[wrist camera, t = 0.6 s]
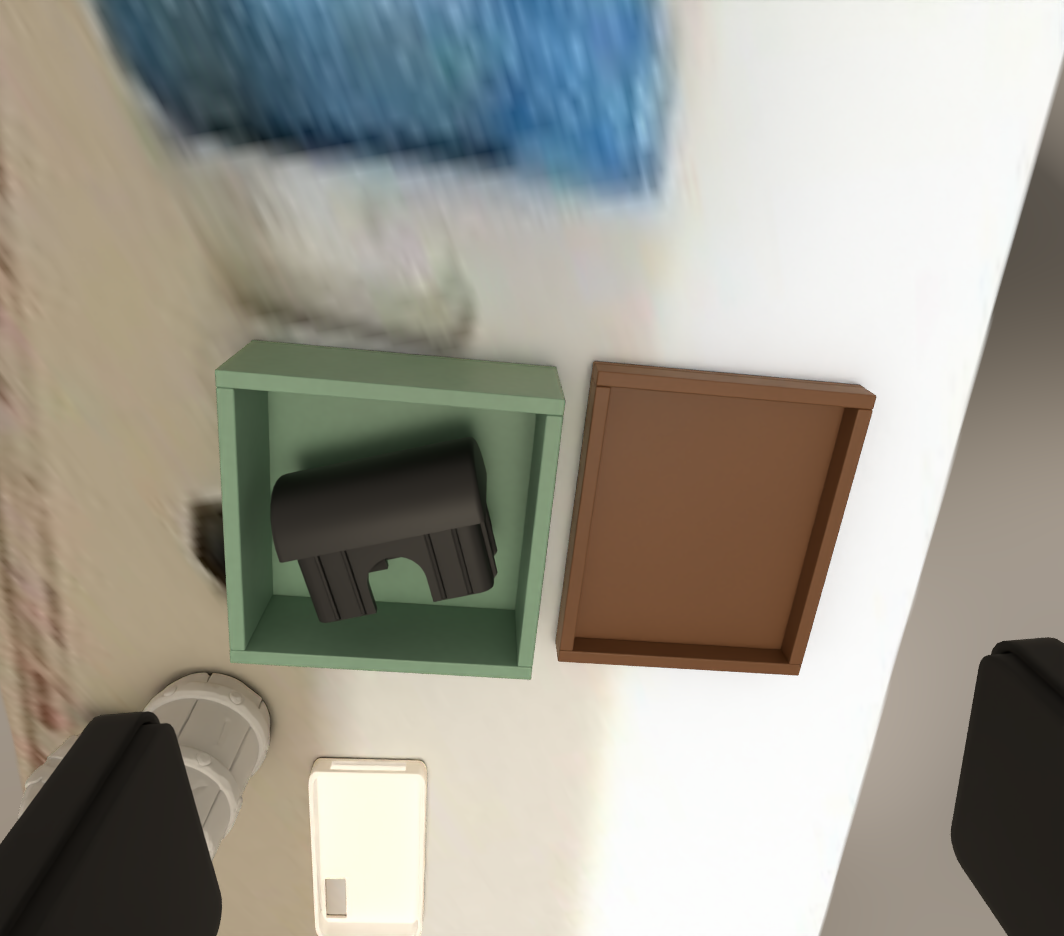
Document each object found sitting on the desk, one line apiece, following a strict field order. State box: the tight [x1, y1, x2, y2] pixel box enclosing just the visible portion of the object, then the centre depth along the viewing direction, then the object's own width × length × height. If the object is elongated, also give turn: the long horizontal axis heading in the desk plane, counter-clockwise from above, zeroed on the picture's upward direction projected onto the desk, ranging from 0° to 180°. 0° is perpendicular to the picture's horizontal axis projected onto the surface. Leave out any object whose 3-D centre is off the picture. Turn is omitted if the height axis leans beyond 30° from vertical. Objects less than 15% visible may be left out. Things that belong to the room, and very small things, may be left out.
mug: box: [18, 673, 270, 861], centre depth 43 cm, size 8×12×12 cm, turn 86°
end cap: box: [270, 437, 498, 623], centre depth 40 cm, size 10×7×7 cm
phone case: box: [308, 758, 427, 936], centre depth 52 cm, size 7×1×15 cm
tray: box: [556, 361, 876, 675], centre depth 44 cm, size 18×15×2 cm
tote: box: [215, 340, 565, 680], centre depth 40 cm, size 16×16×6 cm
